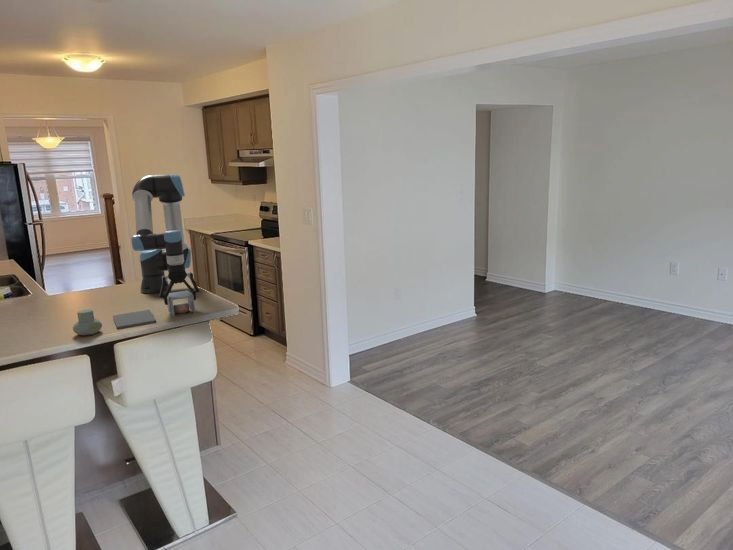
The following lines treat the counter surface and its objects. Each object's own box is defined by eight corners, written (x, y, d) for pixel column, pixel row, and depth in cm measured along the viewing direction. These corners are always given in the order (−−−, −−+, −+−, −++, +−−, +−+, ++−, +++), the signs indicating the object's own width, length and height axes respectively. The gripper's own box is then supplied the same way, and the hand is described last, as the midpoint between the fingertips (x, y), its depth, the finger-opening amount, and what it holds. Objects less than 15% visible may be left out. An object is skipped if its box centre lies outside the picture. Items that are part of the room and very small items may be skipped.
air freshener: (92, 328, 228) (89, 306, 226) (106, 330, 225) (103, 308, 223) (70, 336, 218) (66, 314, 216) (84, 338, 215) (80, 315, 213)
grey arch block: (168, 310, 251) (166, 293, 249) (189, 307, 256) (187, 290, 254) (173, 317, 241) (170, 299, 239) (195, 313, 246) (193, 295, 244)
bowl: (172, 311, 250) (171, 304, 249) (187, 308, 253) (186, 301, 252) (175, 314, 244) (174, 307, 243) (190, 312, 247) (190, 305, 247)
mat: (113, 317, 243) (112, 315, 243) (149, 311, 251) (149, 309, 251) (117, 329, 226) (116, 326, 226) (156, 322, 234) (155, 320, 234)
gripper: (151, 268, 235) (157, 315, 240) (202, 261, 246) (207, 306, 251) (148, 265, 241) (154, 311, 246) (199, 259, 252) (204, 303, 257)
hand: (181, 309), depth 248 cm, fingers open, 10 cm apart
